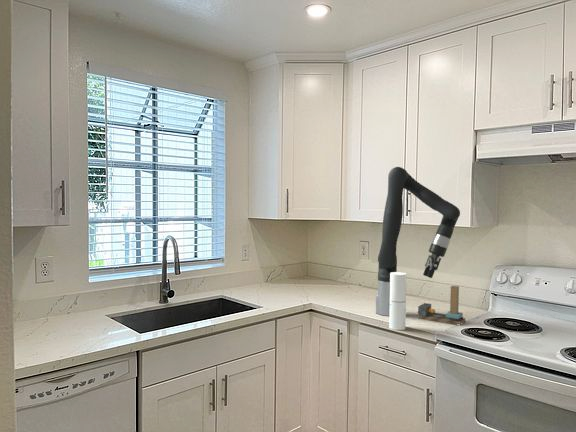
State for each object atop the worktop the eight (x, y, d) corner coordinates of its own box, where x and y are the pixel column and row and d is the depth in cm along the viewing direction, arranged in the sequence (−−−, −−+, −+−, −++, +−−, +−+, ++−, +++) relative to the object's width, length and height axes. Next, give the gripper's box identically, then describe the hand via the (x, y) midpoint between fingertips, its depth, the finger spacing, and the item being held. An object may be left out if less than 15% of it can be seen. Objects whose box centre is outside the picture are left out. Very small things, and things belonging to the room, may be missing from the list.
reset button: (427, 313, 212) (427, 308, 212) (429, 312, 214) (429, 307, 214) (433, 314, 210) (433, 309, 210) (435, 313, 212) (435, 308, 212)
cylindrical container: (398, 331, 190) (399, 275, 190) (385, 327, 196) (386, 273, 195) (408, 328, 195) (409, 273, 194) (396, 324, 200) (397, 271, 199)
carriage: (445, 316, 204) (446, 286, 204) (449, 313, 210) (450, 284, 209) (458, 318, 201) (459, 288, 200) (462, 315, 206) (463, 286, 206)
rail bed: (418, 318, 211) (418, 306, 211) (424, 314, 219) (424, 303, 218) (460, 325, 199) (460, 313, 199) (465, 321, 207) (465, 309, 206)
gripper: (428, 242, 213) (416, 272, 213) (435, 242, 199) (423, 275, 199) (442, 247, 213) (431, 278, 212) (451, 248, 198) (438, 281, 198)
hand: (427, 276), depth 206 cm, fingers open, 8 cm apart
